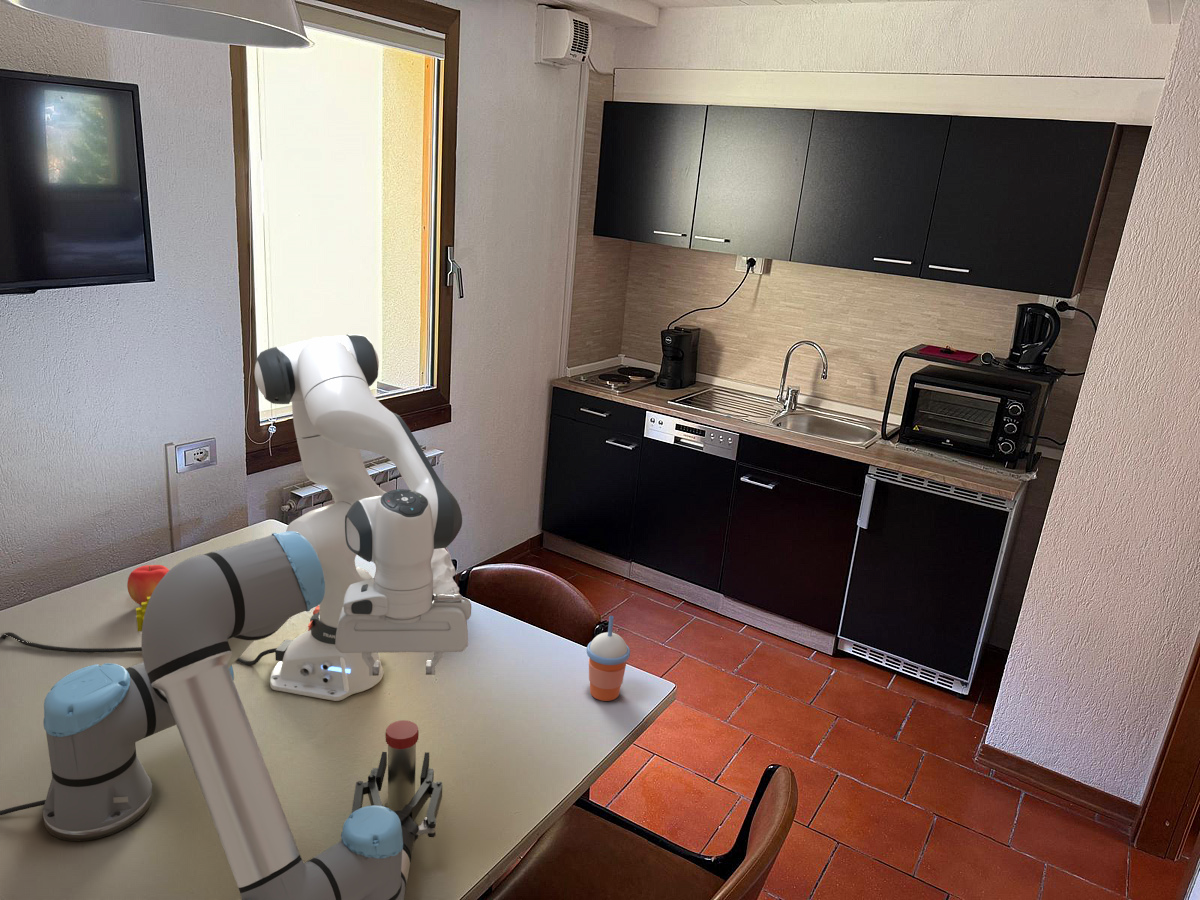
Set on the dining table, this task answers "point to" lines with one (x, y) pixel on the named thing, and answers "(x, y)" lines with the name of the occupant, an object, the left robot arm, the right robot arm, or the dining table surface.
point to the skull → (443, 573)
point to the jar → (401, 777)
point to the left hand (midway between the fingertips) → (405, 758)
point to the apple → (145, 581)
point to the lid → (402, 734)
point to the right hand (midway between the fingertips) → (402, 673)
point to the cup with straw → (607, 664)
